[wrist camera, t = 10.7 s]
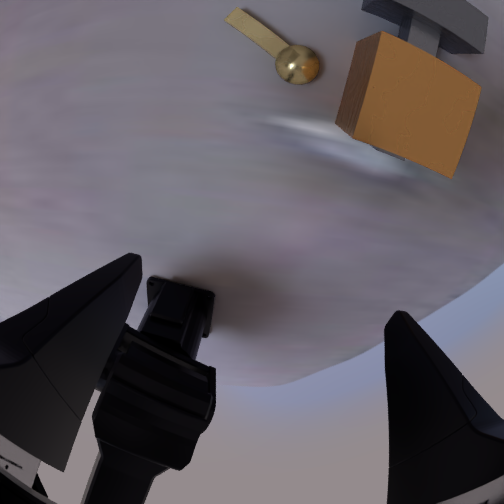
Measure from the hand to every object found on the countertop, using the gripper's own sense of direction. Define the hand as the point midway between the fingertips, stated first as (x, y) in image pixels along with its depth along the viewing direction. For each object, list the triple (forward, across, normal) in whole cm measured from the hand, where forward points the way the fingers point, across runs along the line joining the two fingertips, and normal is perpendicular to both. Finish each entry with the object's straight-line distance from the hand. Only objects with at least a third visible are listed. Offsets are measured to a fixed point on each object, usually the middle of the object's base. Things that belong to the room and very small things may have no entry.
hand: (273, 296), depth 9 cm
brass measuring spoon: (+12, +3, -9) cm, 15 cm away
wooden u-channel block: (+12, -6, -8) cm, 15 cm away
